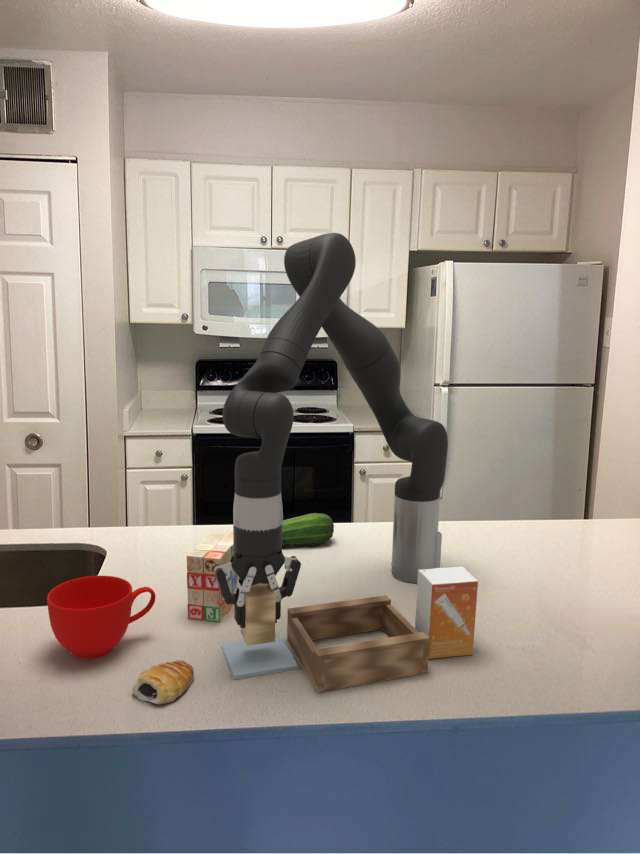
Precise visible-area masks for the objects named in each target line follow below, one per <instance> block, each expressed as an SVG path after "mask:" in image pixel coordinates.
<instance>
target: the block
mask: <svg viewBox="0 0 640 854" xmlns="http://www.w3.org/2000/svg"><path fill="white" fill-rule="evenodd" d="M275 601H276V594H275V592H274V591H271V589H270V587H269V586H268V585H267V584H260V583H259V584H256V585H252V586H251V588H250V591H249V593H248V594H245V603H244V605H245V628H241V627H240V633H241V635H242V638H243V641H245V643H246V645H247V646H249V645H256V644H263V643H269V642H275V636H276V623H275Z"/></svg>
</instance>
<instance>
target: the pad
mask: <svg viewBox="0 0 640 854" xmlns="http://www.w3.org/2000/svg"><path fill="white" fill-rule="evenodd" d="M220 645H221V647H220V649H221V650H222V653H223V656H224V657H225V658H224V659H225V660H226V663H227V665H228V667H229V670H230V672H231V675H232V678H233V680H239V679H246V678H249V677H251V678H252V677H257V676H265V675H269V674H275V673H281V671H282V672H286V671H287V670H288V671H292V670H298V664H297V662H296V661H295V659H294V657H293V655H292V654H291V652H290V650H289V649H288V647H287V645H286V643H285V642H284V640H283V638H282V637H281V635H275V642H269V643H263V644H256V645H249V646H247V645H246V643H245V640H240V641H239V640H238V641H234V642H225V643H221V644H220Z"/></svg>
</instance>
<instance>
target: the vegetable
mask: <svg viewBox="0 0 640 854" xmlns="http://www.w3.org/2000/svg"><path fill="white" fill-rule="evenodd" d="M334 526H335V524H334V521H333V519H332V518H331V516H329V515H328V514H325V513H317V512H313V513H312V512H311V513H307V514H304V515H300V516H296V517H295V516H294V517H292V518H287V519H283V520H282V547H284V546H286V547H291V545H293V546H311V545H312V546H314V545H313V544H315V545H321V544H324V543H325V542H328V541H329V540H331V538H332V537H333V535H334V533H335V532H334V531H335V527H334Z"/></svg>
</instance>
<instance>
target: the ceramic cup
mask: <svg viewBox="0 0 640 854" xmlns="http://www.w3.org/2000/svg"><path fill="white" fill-rule="evenodd" d="M132 586H133V585H132V584H131V583H130V582H129V581H128V580H126V579H124V578H121V577H118V576H113V575H90V576H89V575H88V576H82V577H78V578H74V579H70V580H67V581H65V582H62V583H60V584H58V585H56V586H54V587H53V588H52V589H51V590H50V591H49V592H48V595H47V596H46V602H47V605H46V606H47V612H48V619H49V623H50V627H51V631H52V632H53V635H54V637H55V638H56V640H57V641H58V643H59V644H60V645H61V647H62V648H63V649H65V650H66V651H67V652H69V654H71V655H72V656H73V657H74V658H76V659H79V660H94V659H95V660H96V659H99V658H103V657H104V656H108V655H109V654H111V653H112V652H113V651H114V649H115V647H116V646H117V645H118V644H119V643H120V642H121V641H122V638H123V637H124V635H125V633H126V632H127V629H128V627H129V625H130V624H132V623H134V622H136V621H137V620H139V619H141V618H143V617H144V616H146V615H147V614H148V613H149V612H150V611H151V610H152V608H153V606H154V605H155V603H156V592H155V591H154V590H153V588H151V587H150V586H141V587H139V588H137V589H135V590H134V591H133V587H132ZM143 593H150V599H149V601H148V603H147V604H146V606H145V607H144V608H143V609H142V610H140V611H138V612H137V613H135V614H134V615H132V607H133V604H134V601H135V600H136V598H137V597H138V596H139V595H141V594H143Z"/></svg>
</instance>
